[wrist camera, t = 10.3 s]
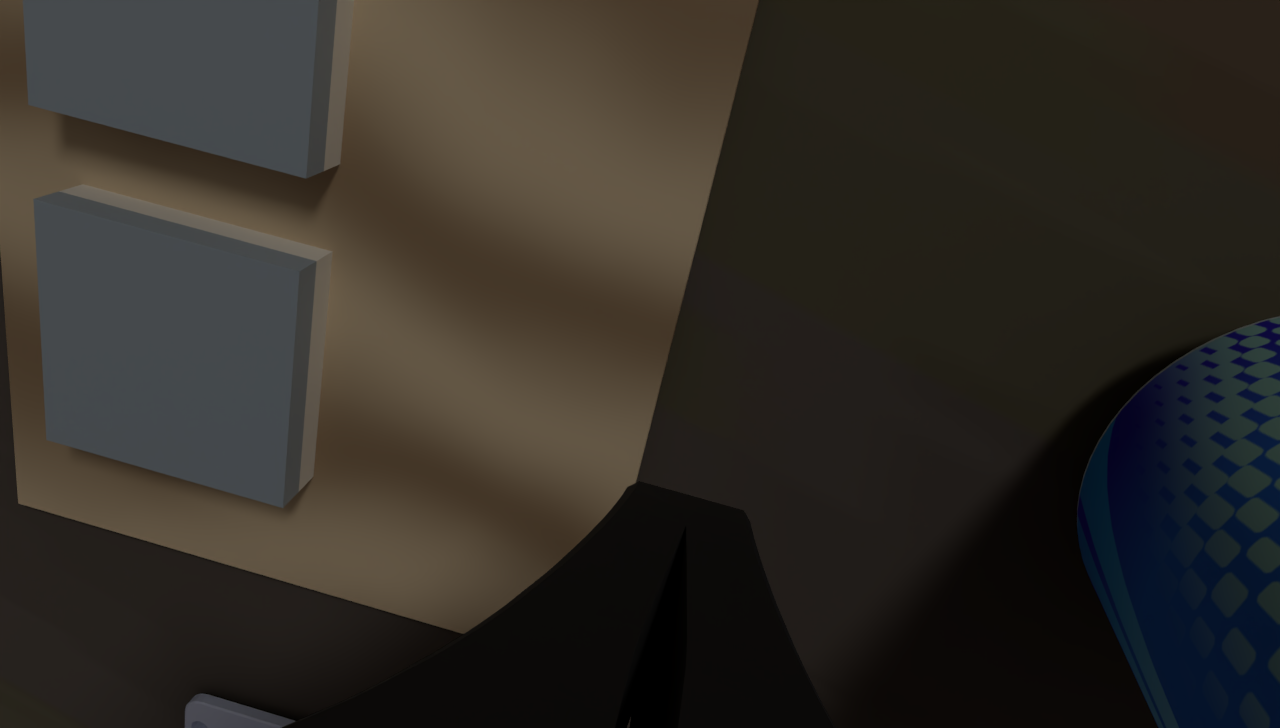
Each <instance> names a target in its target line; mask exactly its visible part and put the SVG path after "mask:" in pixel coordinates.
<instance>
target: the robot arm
mask: <svg viewBox="0 0 1280 728" xmlns="http://www.w3.org/2000/svg"><path fill="white" fill-rule="evenodd" d="M630 717H631V721H630V728H835V726H834V724H833V722H832V721H831V719H830V717H829V715H828V713H827V711H826V710H825V708H824V706H823V704H822V702H821V700H820V698H819V696H818V694H817V692H816V690H815V688H814V686H813V684H812V682H811V680H810V678H809V676H808V674H807V672H806V670H805V668H804V666H803V664H802V662H801V660H800V658H799V655H798V653H797V651H796V649H795V647H794V645H793V642H792V640H791V637H790V635H789V633H788V630H787V628H786V625H785V623H784V621H783V618H782V616H781V614H780V611H779V609H778V606H777V604H776V601H775V599H774V596H773V594H772V591H771V588H770V586H769V583H768V580H767V577H766V574H765V571H764V568H763V565H762V563H761V559H760V556H759V553H758V550H757V546H756V543H755V540H754V536H753V532H752V528H751V524H750V521H749V519H748V517H747V516H746V514H745V512H744V510H740V509H736V508H733V507H729V506H726V505H722V504H719V503H715V502H711V501H708V500H704V499H701V498H697V497H694V496H690V495H686V494H683V493H679V492H676V491H672V490H669V489H665V488H661V487H658V486H654V485H651V484H647V483H644V482H640V481H639V482H637V483H634V484H632V485H630V486H628V487H627V488H626V490H625V491H624V493H623V495H622V496H621V497H620V499H619V500H618V501H617V503H616V504H615V505H614V506H613V508H612V509H611V510H610V511H609V512H608V513H607V514H606V516H605V517H604V518H603V519H602V520H601V521H600V522H599V523H598V524H597V525H596V526H595V527H594V528H593V529H592V531H591V532H590V533H589V534H588V535H587V536H586V537H585V538H583V539H582V540H581V541H580V542H579V543H578V544H577V545H576V546H575V547H574V548H573V549H572V550H571V551H570V552H568V553H567V554H566V555H565V556H564V557H563V558H562V559H561V560H560V561H559V562H558V563H557V564H556V565H554V566H553V567H552V568H551V569H550V570H549V571H548V572H546V573H545V574H544V575H543V576H541V577H540V578H539V579H538V580H536V581H535V582H534V583H533V584H531V585H530V586H529V587H528V588H526V589H525V590H524V591H523V592H521V593H520V594H519V595H517V596H516V597H515V598H514V599H512V600H511V601H510V602H509V603H507V604H506V605H505V606H503V607H502V608H501V609H499V610H498V611H497V612H495V613H494V614H492V615H491V616H490V617H488V618H487V619H485V620H484V621H482V622H481V623H480V624H478V625H477V626H475V627H474V628H472V629H471V630H469V631H468V632H466V633H465V634H463V635H461V636H460V637H458V638H457V639H455V640H453V641H452V642H450V643H449V644H447V645H446V646H444V647H442V648H441V649H439V650H438V651H436V652H434V653H433V654H431V655H429V656H427V657H425V658H424V659H422V660H420V661H418V662H416V663H415V664H413V665H411V666H409V667H407V668H406V669H404V670H402V671H400V672H398V673H397V674H395V675H393V676H391V677H389V678H388V679H386V680H384V681H382V682H380V683H378V684H376V685H374V686H372V687H370V688H368V689H366V690H364V691H362V692H360V693H358V694H356V695H354V696H352V697H350V698H348V699H346V700H344V701H341V702H339V703H337V704H334V705H332V706H330V707H328V708H325V709H323V710H321V711H318V712H316V713H314V714H311V715H309V716H307V717H304V718H302V719H300V720H297V721H295V720H291V719H288V718H285V717H281V716H278V715H275V714H272V713H268V712H265V711H262V710H258V709H255V708H252V707H248V706H245V705H242V704H239V703H235V702H232V701H229V700H225V699H222V698H219V697H215V696H212V695H209V694H202V693H201V694H197V695H195V696H194V697H193V698H192V699H191V700H190V701H189V703H188V704H187V705H186V708H185V728H627V725H628V723H629V720H630Z"/></svg>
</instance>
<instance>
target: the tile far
mask: <svg viewBox="0 0 1280 728" xmlns="http://www.w3.org/2000/svg"><path fill="white" fill-rule="evenodd" d="M33 201H34V219H35V238H36V256H37V275H38V293H39V312H40V330H41V349H42V368H43V386H44V405H45V423H46V440H48V441H52V442H55V443H59V444H62V445H66V446H69V447H73V448H76V449H79V450H83V451H86V452H90V453H93V454H97V455H100V456H104V457H107V458H111V459H114V460H118V461H121V462H125V463H128V464H132V465H135V466H138V467H142V468H145V469H149V470H152V471H156V472H159V473H163V474H166V475H170V476H173V477H177V478H180V479H184V480H187V481H190V482H194V483H197V484H201V485H204V486H208V487H211V488H215V489H218V490H222V491H225V492H229V493H232V494H236V495H239V496H242V497H246V498H249V499H253V500H256V501H260V502H263V503H267V504H270V505H274V506H277V507H281V508H284V507H285V505H286V504H287V503H288V502H289V501H290V500H291V499H292V498H293V497H294V496H295V495H296V494H297V493H298V492H299V491H300V490H301V489H302V488H303V487H304V486H305V485H306V484H307V483H308V482H309V481H310V480H311V479H312V478H313V476H314V464H315V452H316V440H317V429H318V417H319V405H320V394H321V382H322V370H323V358H324V347H325V335H326V323H327V311H328V300H329V288H330V276H331V265H332V253H333V252H332V251H329V250H325V249H321V248H318V247H314V246H310V245H306V244H303V243H299V242H295V241H292V240H288V239H284V238H280V237H277V236H273V235H269V234H266V233H262V232H258V231H255V230H251V229H247V228H243V227H240V226H236V225H232V224H229V223H225V222H221V221H217V220H214V219H210V218H206V217H203V216H199V215H195V214H192V213H188V212H184V211H180V210H177V209H173V208H169V207H166V206H162V205H158V204H154V203H151V202H147V201H143V200H140V199H136V198H132V197H129V196H125V195H121V194H117V193H114V192H110V191H106V190H103V189H99V188H95V187H91V186H88V185H84V184H82V185H79V186H75V187H72V188H69V189H65V190H62V191H59V192H55V193H52V194H49V195H45V196H42V197H39V198H35V199H33Z"/></svg>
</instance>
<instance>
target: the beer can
mask: <svg viewBox="0 0 1280 728" xmlns="http://www.w3.org/2000/svg"><path fill="white" fill-rule="evenodd" d="M1077 531H1078V540H1079V547H1080V551H1081V555H1082V559H1083V563H1084V565H1085V568H1086V571H1087V573H1088V576H1089V578H1090V580H1091V583H1092V585H1093V587H1094V589H1095V591H1096V593H1097V596H1098V598H1099V600H1100V602H1101V604H1102V606H1103V609H1104V611H1105V613H1106V615H1107V617H1108V619H1109V622H1110V624H1111V626H1112V628H1113V630H1114V633H1115V635H1116V637H1117V639H1118V641H1119V643H1120V646H1121V648H1122V650H1123V652H1124V654H1125V656H1126V659H1127V661H1128V663H1129V665H1130V667H1131V669H1132V672H1133V674H1134V676H1135V678H1136V680H1137V683H1138V685H1139V687H1140V689H1141V691H1142V693H1143V696H1144V698H1145V700H1146V702H1147V704H1148V706H1149V709H1150V711H1151V713H1152V715H1153V717H1154V719H1155V722H1156V724H1157V726H1158V728H1280V316H1278V317H1274V318H1270V319H1266V320H1262V321H1259V322H1256V323H1253V324H1250V325H1247V326H1244V327H1241V328H1238V329H1235V330H1233V331H1231V332H1228V333H1226V334H1224V335H1221V336H1219V337H1216V338H1214V339H1212V340H1210V341H1208V342H1206V343H1205V344H1203V345H1201V346H1199V347H1197V348H1195V349H1193V350H1191V351H1190V352H1188V353H1187V354H1185V355H1183V356H1182V357H1180V358H1179V359H1177V360H1175V361H1174V362H1172V363H1171V364H1170V365H1168V366H1167V367H1166V368H1164V369H1163V370H1162V371H1160V372H1159V373H1158V374H1156V375H1155V376H1154V377H1152V378H1151V379H1150V380H1149V381H1148V382H1147V383H1146V384H1145V385H1143V386H1142V387H1141V388H1140V389H1139V390H1138V391H1137V392H1136V393H1135V394H1134V395H1133V396H1132V397H1131V398H1130V399H1129V400H1128V401H1127V402H1126V403H1125V405H1124V406H1123V407H1122V408H1121V409H1120V411H1119V412H1118V413H1117V414H1116V416H1115V417H1114V418H1113V419H1112V421H1111V422H1110V423H1109V425H1108V426H1107V428H1106V430H1105V431H1104V433H1103V434H1102V436H1101V437H1100V439H1099V441H1098V443H1097V445H1096V447H1095V449H1094V451H1093V453H1092V455H1091V457H1090V459H1089V462H1088V465H1087V467H1086V470H1085V473H1084V476H1083V479H1082V483H1081V487H1080V491H1079V499H1078V506H1077Z"/></svg>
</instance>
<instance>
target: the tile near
mask: <svg viewBox="0 0 1280 728" xmlns="http://www.w3.org/2000/svg"><path fill="white" fill-rule="evenodd" d="M353 8H354V0H23V14H24V32H25V51H26V70H27V88H28V105H30V106H34V107H38V108H42V109H46V110H49V111H53V112H57V113H61V114H64V115H68V116H72V117H76V118H79V119H83V120H87V121H91V122H95V123H98V124H102V125H106V126H110V127H113V128H117V129H121V130H125V131H128V132H132V133H136V134H140V135H144V136H147V137H151V138H155V139H159V140H162V141H166V142H170V143H174V144H177V145H181V146H185V147H189V148H193V149H196V150H200V151H204V152H208V153H211V154H215V155H219V156H223V157H226V158H230V159H234V160H238V161H242V162H245V163H249V164H253V165H257V166H260V167H264V168H268V169H272V170H275V171H279V172H283V173H287V174H291V175H294V176H298V177H302V178H306V179H307V178H309V177H311V176H314V175H316V174H318V173H321V172H323V171H325V170H328V169H330V168H333V167H335V166H337V165H340V160H341V148H342V136H343V125H344V113H345V101H346V90H347V78H348V66H349V54H350V43H351V31H352V19H353Z"/></svg>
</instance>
